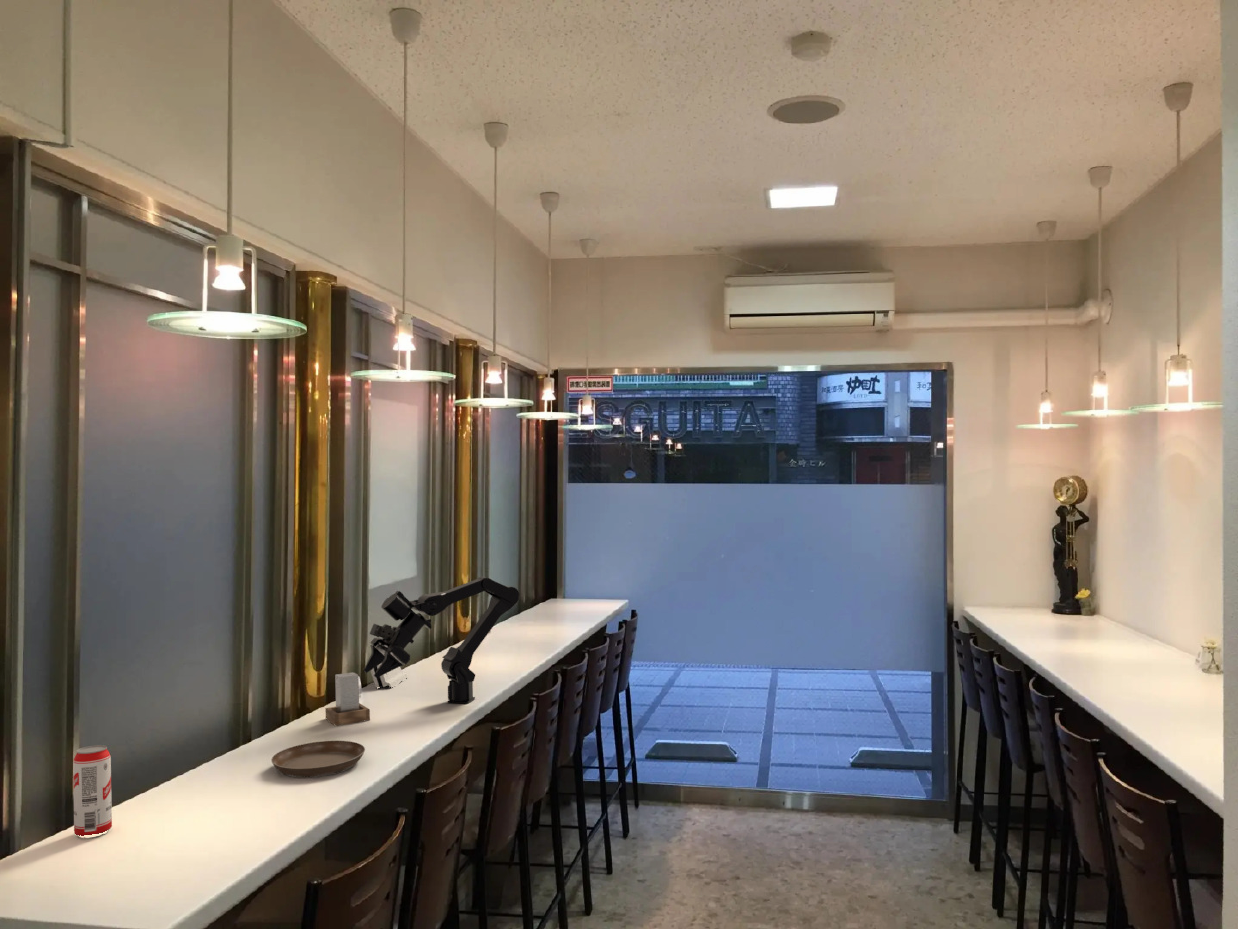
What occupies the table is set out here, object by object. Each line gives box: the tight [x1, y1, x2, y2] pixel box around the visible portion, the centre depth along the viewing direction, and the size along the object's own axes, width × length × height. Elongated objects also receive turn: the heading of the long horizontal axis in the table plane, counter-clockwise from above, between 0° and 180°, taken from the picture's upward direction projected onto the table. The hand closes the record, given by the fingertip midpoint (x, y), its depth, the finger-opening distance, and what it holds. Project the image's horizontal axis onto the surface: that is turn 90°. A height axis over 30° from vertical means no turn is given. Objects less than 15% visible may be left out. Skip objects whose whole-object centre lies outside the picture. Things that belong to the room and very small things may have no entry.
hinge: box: [370, 664, 408, 688], centre depth 306 cm, size 17×5×10 cm, turn 174°
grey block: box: [334, 671, 360, 713], centre depth 259 cm, size 5×5×12 cm
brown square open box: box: [325, 702, 371, 726], centre depth 259 cm, size 10×10×3 cm
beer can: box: [72, 744, 113, 836], centre depth 177 cm, size 6×6×16 cm
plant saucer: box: [271, 740, 366, 778], centre depth 216 cm, size 21×21×3 cm
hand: (369, 674), depth 263 cm, fingers open, 9 cm apart
